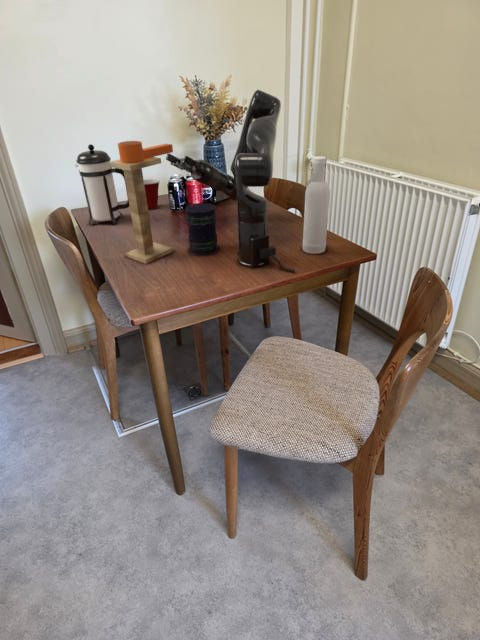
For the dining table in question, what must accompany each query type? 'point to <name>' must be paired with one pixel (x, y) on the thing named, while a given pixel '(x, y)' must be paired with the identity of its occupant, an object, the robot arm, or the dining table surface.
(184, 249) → the dining table surface
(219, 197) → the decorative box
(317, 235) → the bottle
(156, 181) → the plastic cup
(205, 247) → the storage jar
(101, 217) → the coffee press
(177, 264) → the dining table surface
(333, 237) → the dining table surface
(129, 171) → the plant stand
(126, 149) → the measuring scoop
